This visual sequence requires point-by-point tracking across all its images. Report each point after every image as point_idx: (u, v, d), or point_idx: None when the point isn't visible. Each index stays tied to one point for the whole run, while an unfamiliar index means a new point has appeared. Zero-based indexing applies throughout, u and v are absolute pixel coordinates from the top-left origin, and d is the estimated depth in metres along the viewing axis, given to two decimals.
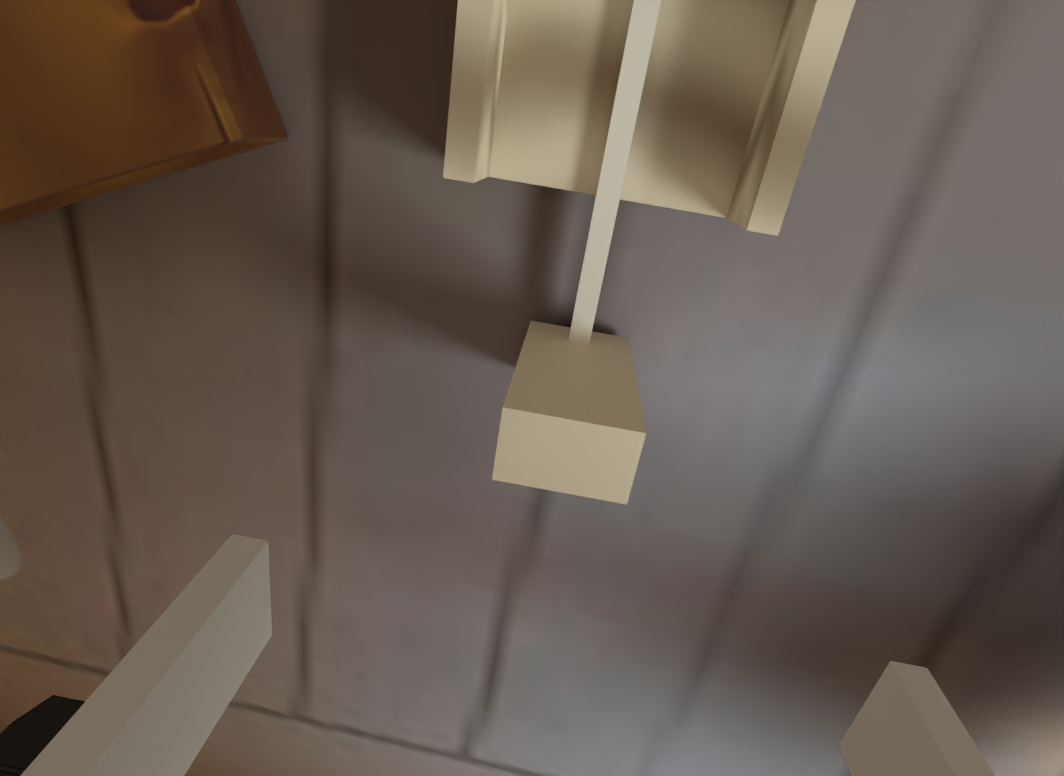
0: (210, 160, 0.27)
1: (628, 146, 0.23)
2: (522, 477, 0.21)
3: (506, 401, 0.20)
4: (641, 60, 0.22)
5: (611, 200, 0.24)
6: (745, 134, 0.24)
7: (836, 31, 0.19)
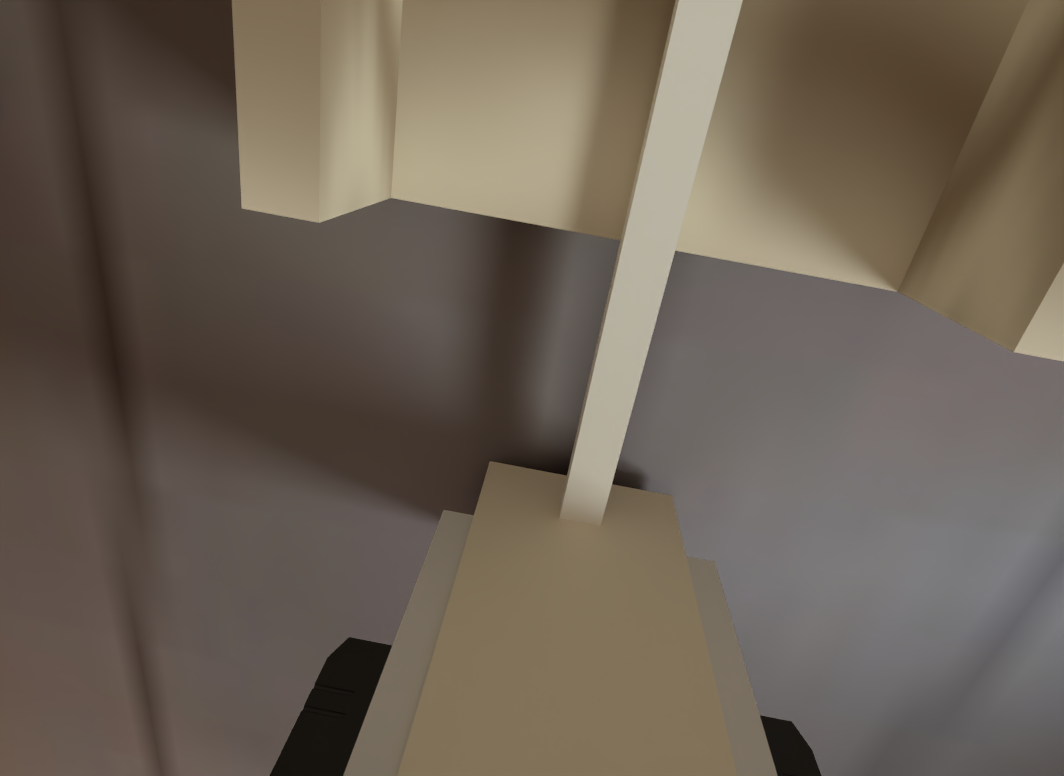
0: None
1: (701, 134, 0.10)
2: None
3: None
4: None
5: (655, 255, 0.11)
6: (965, 111, 0.10)
7: None
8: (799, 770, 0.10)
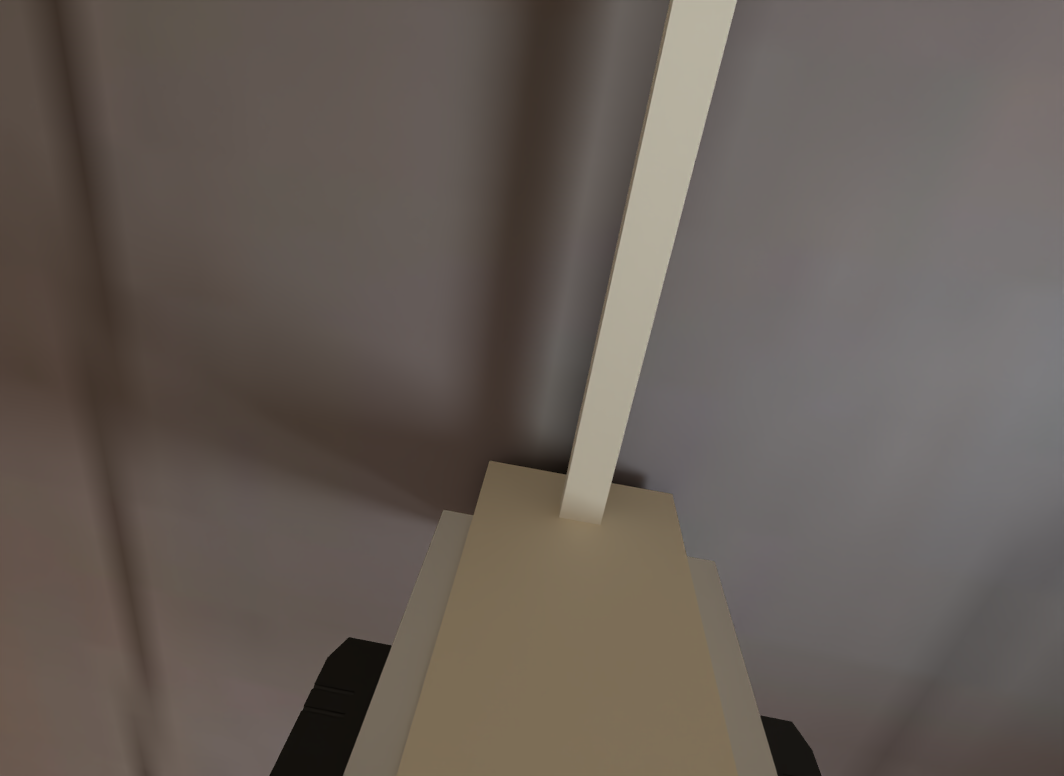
0: None
1: (697, 131, 0.10)
2: None
3: None
4: None
5: (653, 253, 0.11)
6: None
7: None
8: (799, 770, 0.10)
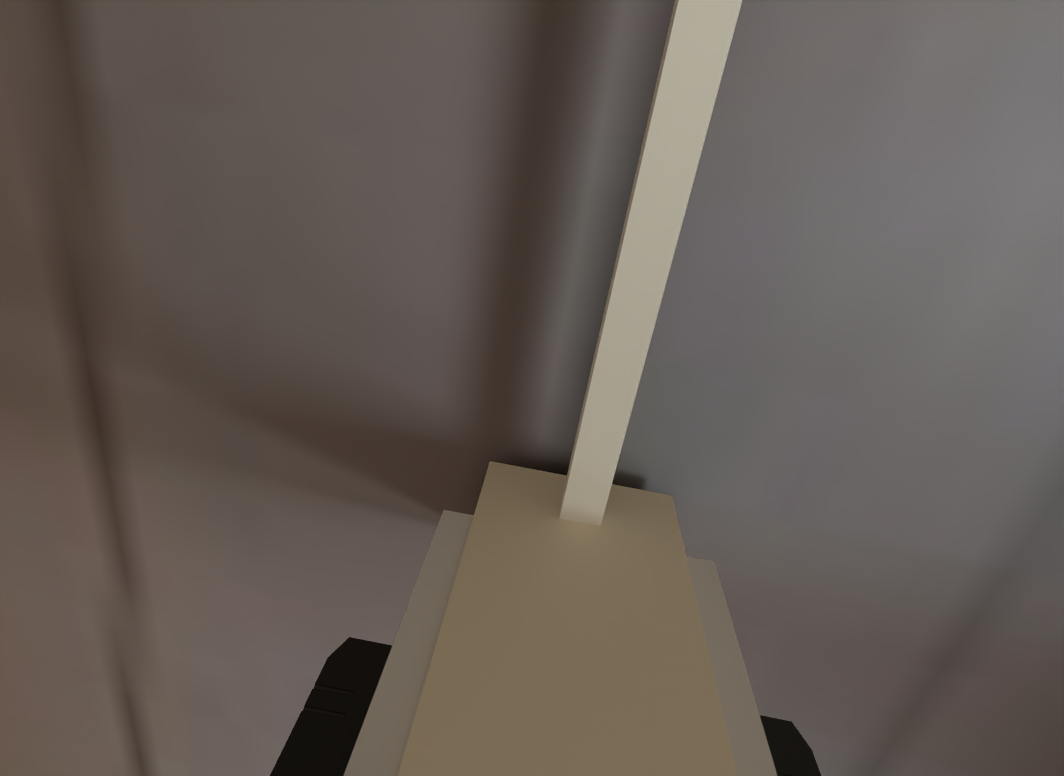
0: None
1: (701, 134, 0.10)
2: None
3: None
4: None
5: (655, 255, 0.11)
6: None
7: None
8: (799, 770, 0.10)
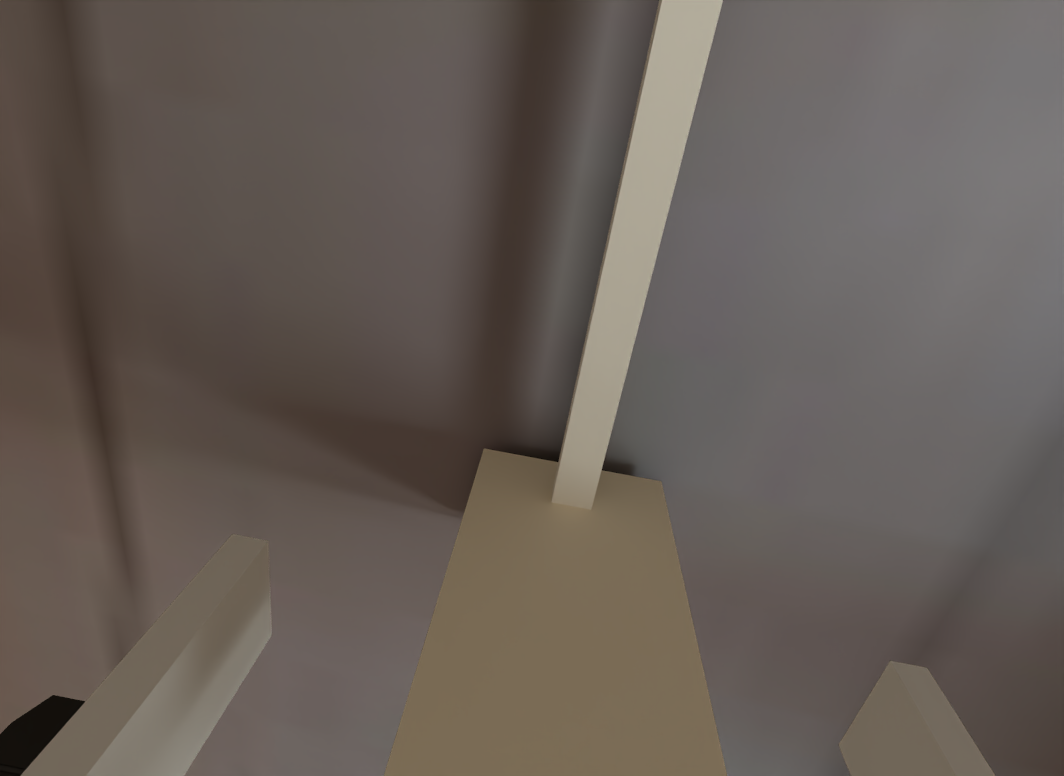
0: None
1: (685, 128, 0.10)
2: None
3: None
4: None
5: (642, 245, 0.11)
6: None
7: None
8: None
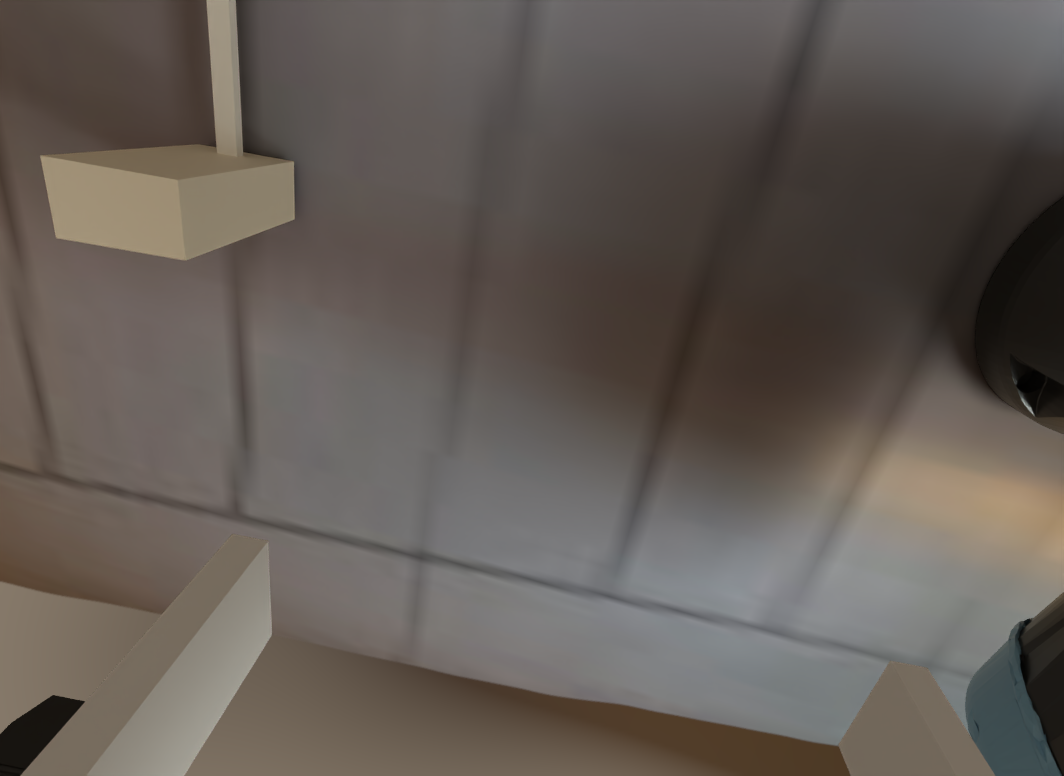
0: None
1: None
2: (82, 234, 0.22)
3: (52, 155, 0.21)
4: None
5: (221, 0, 0.25)
6: None
7: None
8: None
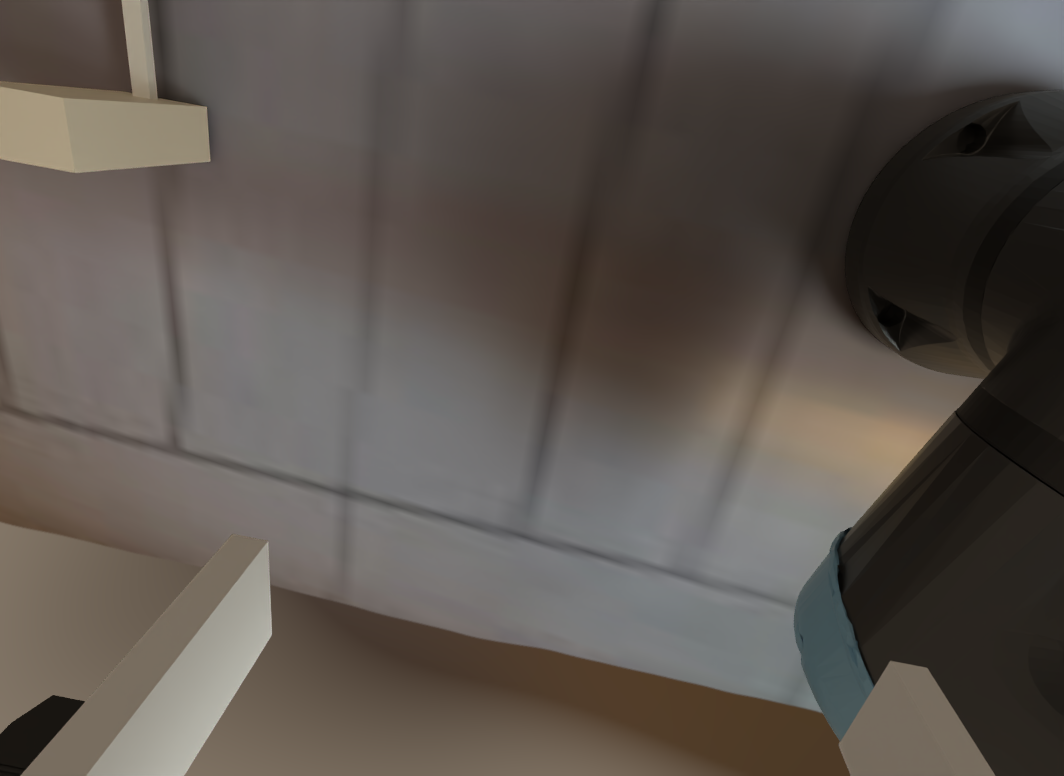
0: None
1: None
2: None
3: None
4: None
5: None
6: None
7: None
8: None
